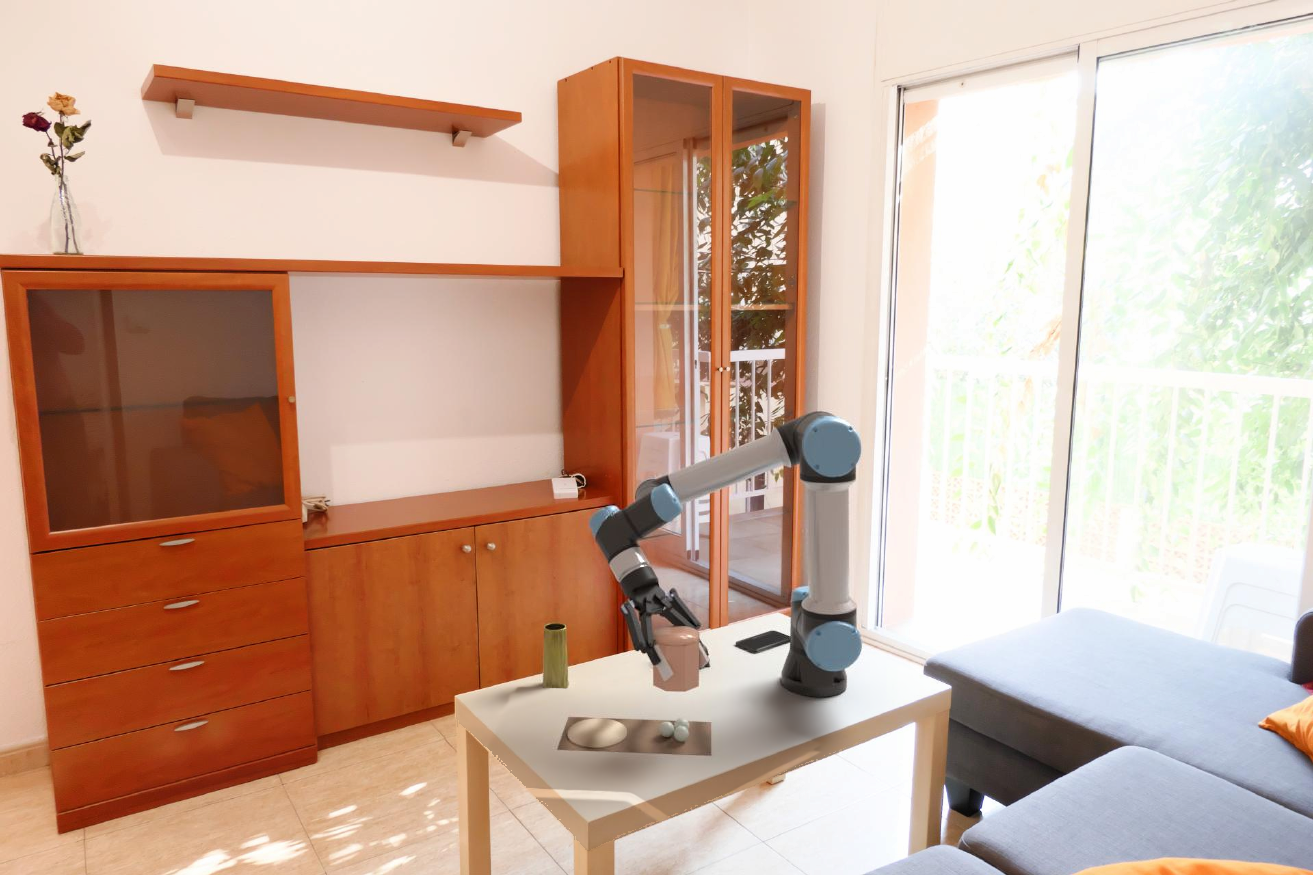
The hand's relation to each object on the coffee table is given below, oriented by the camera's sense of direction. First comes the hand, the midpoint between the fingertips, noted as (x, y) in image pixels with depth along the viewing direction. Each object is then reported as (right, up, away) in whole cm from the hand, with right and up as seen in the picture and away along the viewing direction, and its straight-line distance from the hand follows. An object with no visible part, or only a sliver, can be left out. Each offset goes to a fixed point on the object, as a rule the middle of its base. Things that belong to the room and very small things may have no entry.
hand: (687, 670), depth 171 cm
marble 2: (-1, -13, +6) cm, 14 cm away
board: (-10, -16, +5) cm, 19 cm away
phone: (+22, -9, +59) cm, 63 cm away
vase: (-29, -12, +31) cm, 44 cm away
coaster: (-18, -14, +5) cm, 23 cm away
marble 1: (-4, -13, +4) cm, 14 cm away
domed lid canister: (-2, -3, +3) cm, 5 cm away
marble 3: (-1, -13, +2) cm, 13 cm away
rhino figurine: (0, -10, +44) cm, 46 cm away
